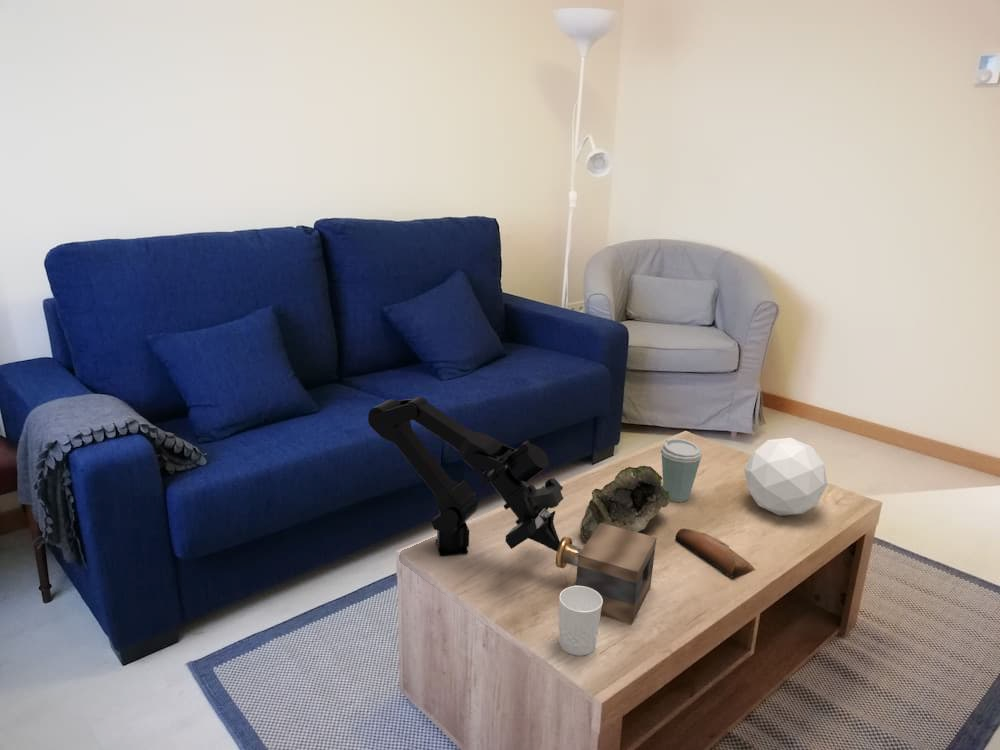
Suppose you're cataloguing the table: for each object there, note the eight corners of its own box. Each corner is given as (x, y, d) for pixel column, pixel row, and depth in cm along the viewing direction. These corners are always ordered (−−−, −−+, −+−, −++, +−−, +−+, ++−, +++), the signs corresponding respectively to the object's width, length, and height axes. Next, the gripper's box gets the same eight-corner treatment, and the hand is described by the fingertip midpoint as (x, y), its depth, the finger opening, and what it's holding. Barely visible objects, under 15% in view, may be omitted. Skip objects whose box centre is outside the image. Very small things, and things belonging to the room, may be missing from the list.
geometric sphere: (785, 543, 186) (797, 509, 170) (725, 490, 197) (731, 454, 181) (835, 497, 191) (852, 461, 175) (774, 448, 202) (784, 409, 186)
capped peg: (554, 572, 152) (556, 545, 150) (565, 557, 157) (567, 531, 155) (611, 589, 147) (614, 562, 145) (620, 573, 152) (623, 546, 150)
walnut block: (573, 606, 147) (578, 554, 143) (596, 571, 159) (600, 522, 155) (632, 625, 142) (638, 571, 139) (650, 587, 154) (656, 537, 151)
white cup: (587, 664, 132) (591, 617, 128) (548, 647, 135) (551, 601, 132) (605, 640, 138) (609, 595, 135) (567, 624, 142) (571, 580, 139)
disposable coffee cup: (701, 495, 195) (709, 443, 190) (688, 511, 186) (695, 457, 181) (663, 483, 200) (670, 433, 195) (649, 499, 191) (655, 446, 187)
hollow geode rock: (651, 523, 189) (622, 471, 193) (686, 506, 180) (656, 452, 184) (582, 561, 170) (552, 502, 173) (618, 543, 161) (586, 482, 165)
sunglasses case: (759, 569, 162) (752, 550, 159) (738, 591, 160) (730, 572, 157) (700, 531, 177) (692, 513, 173) (679, 551, 175) (671, 533, 171)
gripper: (521, 491, 142) (571, 555, 141) (557, 455, 158) (602, 513, 157) (484, 517, 148) (532, 579, 147) (522, 480, 164) (565, 536, 163)
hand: (560, 550), depth 153 cm, fingers closed, pressing on capped peg
